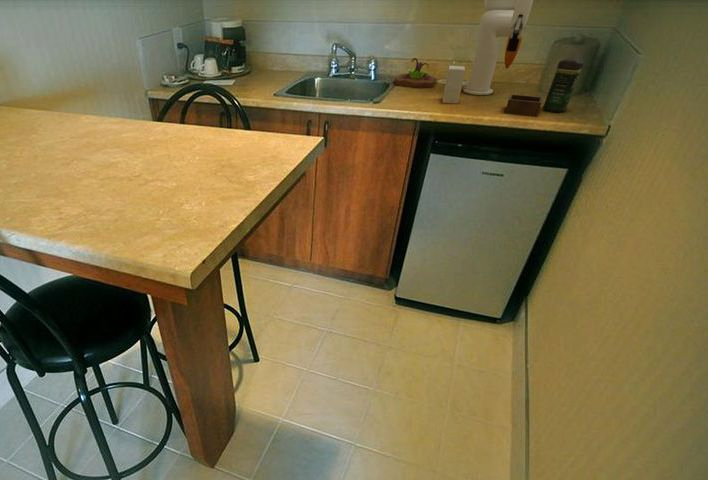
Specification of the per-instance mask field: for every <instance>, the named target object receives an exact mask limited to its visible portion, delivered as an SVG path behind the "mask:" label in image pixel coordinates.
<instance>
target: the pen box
mask: <svg viewBox="0 0 708 480" xmlns="http://www.w3.org/2000/svg"><path fill="white" fill-rule="evenodd" d="M542 101H543V97H542V96H533V95H524V94H523V95H522V94H513V93H511V94H510V96H509V98H508V100H507V103H506V107H505V111H504V113H505V114H511V115H520V116H527V117H528V116H529V117H538V115H539V111H540V108H541V105H542Z"/></svg>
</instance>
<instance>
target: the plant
mask: <svg viewBox="0 0 708 480" xmlns="http://www.w3.org/2000/svg"><path fill="white" fill-rule="evenodd" d="M415 61H416V62H415ZM410 62H411V63H413V62H415V63H416V64H415V69H414V68H411V69H409V68H407V69H406V70H407V71H408V73H401V74H398V75H397V76H395V77H394V85H395V86H399V87H406V88H417V89H418V88H419V89H423V88H428V89H431V88H433V87H434V85H435V84H436V82H437V77H435V76H432V75H429V74H428V70H423V66H425V65H426V68H427V69H429V68H430V64H428V63H427V62H423V63H422V62H419V61H418V58H417V57H413V58H411V60H410Z"/></svg>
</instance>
